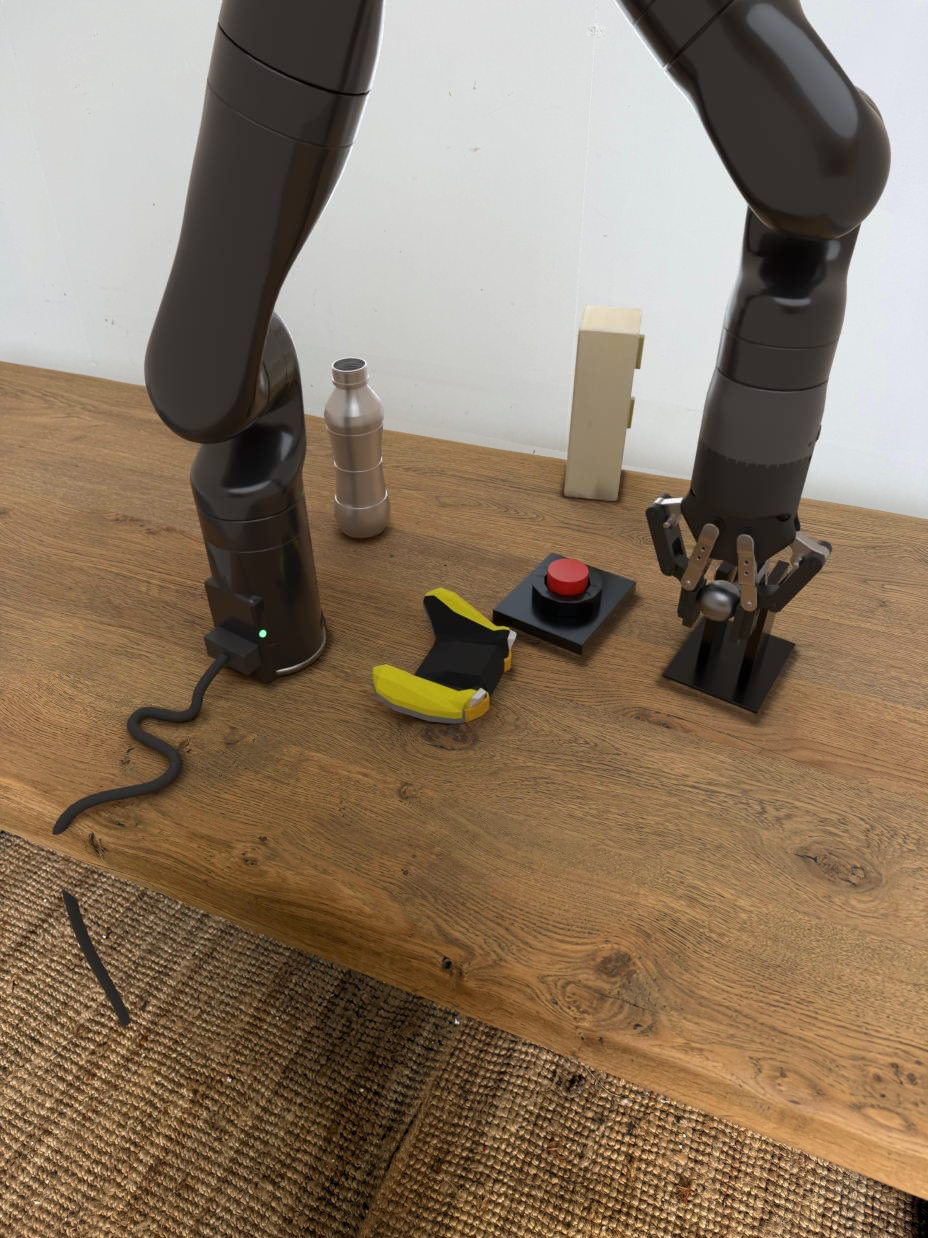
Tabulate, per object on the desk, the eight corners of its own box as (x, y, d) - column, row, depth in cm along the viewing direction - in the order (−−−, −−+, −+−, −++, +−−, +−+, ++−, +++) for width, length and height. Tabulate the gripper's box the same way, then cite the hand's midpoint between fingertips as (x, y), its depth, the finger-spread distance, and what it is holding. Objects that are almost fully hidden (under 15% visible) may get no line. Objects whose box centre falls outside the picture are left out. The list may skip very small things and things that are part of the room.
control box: (580, 662, 82) (584, 630, 80) (492, 626, 87) (492, 595, 84) (634, 598, 90) (638, 567, 88) (550, 568, 95) (552, 537, 92)
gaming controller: (365, 721, 77) (470, 752, 74) (360, 676, 73) (470, 706, 70) (432, 622, 87) (526, 645, 85) (431, 578, 84) (528, 600, 81)
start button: (575, 601, 84) (576, 586, 83) (539, 587, 86) (540, 573, 85) (594, 580, 87) (595, 566, 86) (559, 568, 88) (560, 553, 87)
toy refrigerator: (623, 503, 105) (645, 333, 92) (563, 497, 106) (576, 328, 93) (627, 471, 111) (648, 307, 98) (570, 466, 112) (583, 303, 99)
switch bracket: (755, 721, 76) (785, 617, 69) (660, 683, 80) (679, 581, 73) (793, 652, 83) (824, 551, 76) (704, 620, 87) (725, 521, 80)
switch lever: (728, 630, 66) (741, 591, 65) (688, 616, 67) (700, 577, 66) (764, 603, 77) (776, 569, 76) (730, 591, 78) (741, 558, 77)
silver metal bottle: (326, 538, 99) (304, 372, 87) (353, 509, 104) (337, 348, 92) (376, 550, 97) (361, 381, 85) (401, 520, 102) (391, 356, 90)
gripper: (637, 428, 59) (612, 624, 70) (850, 485, 53) (786, 690, 63) (680, 389, 64) (651, 578, 74) (880, 437, 57) (816, 635, 68)
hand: (713, 629), depth 69 cm, fingers closed on switch lever, 3 cm apart
